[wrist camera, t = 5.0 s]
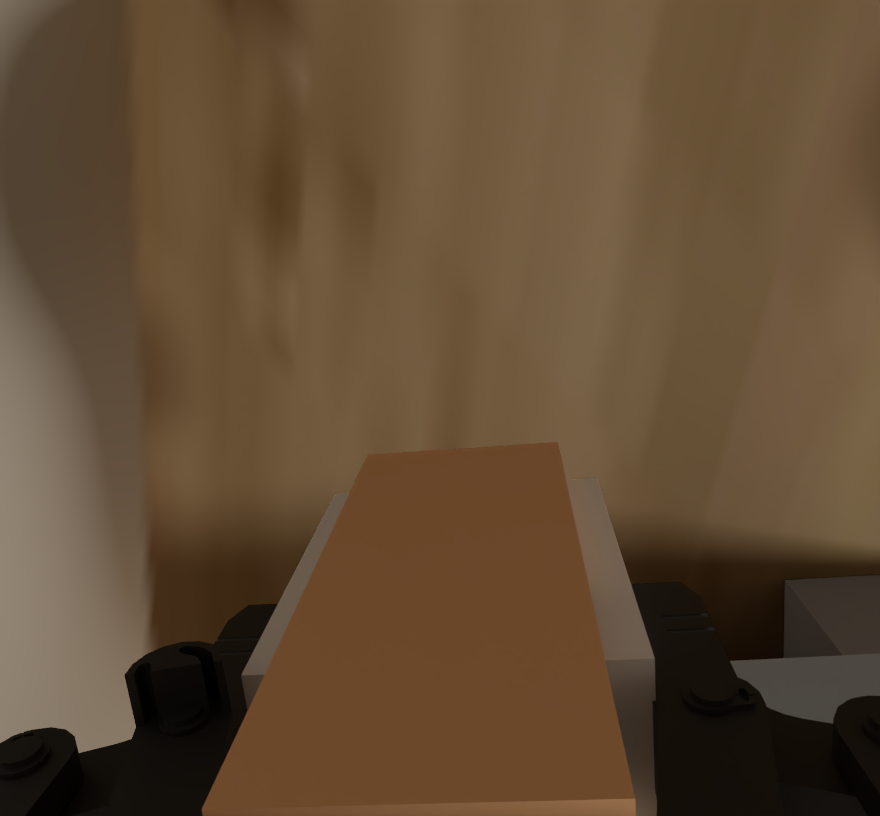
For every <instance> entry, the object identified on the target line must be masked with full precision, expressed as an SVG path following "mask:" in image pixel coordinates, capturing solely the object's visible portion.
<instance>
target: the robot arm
mask: <svg viewBox="0 0 880 816" xmlns="http://www.w3.org/2000/svg"><path fill="white" fill-rule="evenodd" d="M566 483H567V487H568V492H569V496H570V501H571V506H572V510H573V515H574V519H575V524H576V529H577V533H578V538H579V542H580V547H581V552H582V556H583V561H584V565H585V570H586V574H587V579H588V584H589V588H590V593H591V597H592V602H593V607H594V611H595V616H596V620H597V625H598V630H599V634H600V639H601V643H602V648H603V653H604V657H605V662H606V666H607V671H608V675H609V680H610V685H611V689H612V694H613V698H614V703H615V708H616V712H617V717H618V721H619V726H620V731H621V735H622V740H623V744H624V749H625V753H626V758H627V763H628V767H629V772H630V776H631V781H632V786H633V790H634V795H635V804H636V816H880V696H873V695H867V696H862V697H857V698H851V699H849V700H847V701H846V702H844V703H843V704H841V705H840V706H838V707H837V710H836V713H835V715H834V718H833V724H832V723H826V722H821V721H815V720H809V719H803V718H798V717H794V716H790V715H786V714H783V713H780V712H778V711H775V710H773V709H770V708H768V707H766V703H765V701H764V699H763V697H762V695H761V693H760V691H758V690H757V689H756V688H755V687H754V686H752V685H751V684H750V683H749V682H747V681H746V680H743V679H741V678H739V677H737V675H736V673H735V671H734V669H733V666H732V664H731V662H730V660H729V658H728V656H727V654H726V652H725V650H724V647H723V645H722V643H721V641H720V639H719V637H718V635H717V633H716V631H714V626H713V624H712V622H711V620H710V618H709V617H708V615H707V612H706V609H705V607H704V605H703V603H702V601H701V599H700V597H699V596H698V595H697V594H696V593H694V592H693V591H692V590H690V589H689V588H688V587H686V586H685V585H683V584H682V583H681V582H665V583H645V584H631V583H630V580H629V576H628V573H627V570H626V567H625V564H624V561H623V558H622V555H621V552H620V548H619V545H618V542H617V539H616V536H615V533H614V530H613V527H612V523H611V520H610V517H609V514H608V511H607V508H606V505H605V502H604V498H603V495H602V492H601V489H600V486H599V483H598V480H597V477H594V478H577V479H566ZM348 495H349V493H335V494H334V496H333V498H332V500H331V502H330V504H329V506H328V508H327V510H326V512H325V514H324V516H323V517H322V519H321V521H320V523H319V525H318V527H317V529H316V531H315V533H314V535H313V537H312V539H311V541H310V543H309V545H308V547H307V549H306V550H305V552H304V554H303V556H302V558H301V560H300V562H299V564H298V566H297V568H296V570H295V572H294V574H293V576H292V578H291V580H290V581H289V583H288V585H287V587H286V589H285V591H284V593H283V595H282V597H281V599H280V601H279V603H278V604H263V605H248V606H247V607H246V608H244V609H243V610H242V611H240V612H239V613H238V614H236V615H235V616H234V617H233V618H231V619H230V620H229V621H228V622H227V624H226V625H225V627H224V629H223V630H222V632H221V634H220V635H219V637H218V641H216V642H215V643H214V645H213V644H209V643H205V642H200V641H196V642H181V643H177V644H173V645H169V646H165V647H162V648H160V649H157V650H155V651H153V652H151V653H148V654H146V655H145V656H143V657H142V658H141V659H139V660H138V661H137V662H135V663H134V664H133V665H132V666H131V667H130V669H129V670H128V671H127V673H126V674H125V679H126V683H127V688H128V692H129V697H130V702H131V706H132V710H133V715H134V719H135V724H136V729H135V732H134V734H133V737H132V739H131V740H127V741H125V742H121V743H118V744H114V745H110V746H106V747H103V748H99V749H94V750H90V751H86V752H82V753H78V749H77V745H76V741H75V737H74V736H73V735H72V734H71V733H69V732H68V731H67V730H65V729H58V728H43V729H36V730H30V731H26V732H24V733H20V734H17V735H14V736H12V737H10V738H9V739H7V740H6V741H4V742H2V743H0V816H203V815H202V807H203V805H204V803H205V801H206V799H207V797H208V795H209V792H210V790H211V788H212V786H213V784H214V782H215V780H216V778H217V775H218V773H219V771H220V769H221V767H222V765H223V763H224V760H225V758H226V756H227V754H228V752H229V750H230V748H231V745H232V743H233V741H234V739H235V737H236V735H237V733H238V730H239V728H240V726H241V724H242V722H243V720H244V718H245V716H246V713H247V711H248V709H249V707H250V705H251V703H252V701H253V698H254V696H255V694H256V692H257V690H258V688H259V686H260V683H261V681H262V679H263V677H264V675H265V673H266V671H267V668H268V666H269V664H270V662H271V660H272V658H273V656H274V654H275V651H276V649H277V647H278V645H279V643H280V641H281V639H282V636H283V634H284V632H285V630H286V628H287V626H288V624H289V621H290V619H291V617H292V615H293V613H294V611H295V609H296V607H297V604H298V602H299V600H300V598H301V596H302V594H303V592H304V589H305V587H306V585H307V583H308V581H309V579H310V577H311V574H312V572H313V570H314V568H315V566H316V564H317V562H318V559H319V557H320V555H321V553H322V551H323V549H324V547H325V545H326V542H327V540H328V538H329V536H330V534H331V532H332V530H333V527H334V525H335V523H336V521H337V519H338V517H339V515H340V512H341V510H342V508H343V506H344V504H345V502H346V500H347V497H348Z"/></svg>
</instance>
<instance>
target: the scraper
mask: <svg viewBox="0 0 880 816" xmlns="http://www.w3.org/2000/svg"><path fill="white" fill-rule="evenodd" d="M202 815H203V816H636V804H635V795H634V790H633V786H632V781H631V776H630V772H629V767H628V763H627V758H626V753H625V749H624V744H623V740H622V735H621V731H620V726H619V721H618V717H617V712H616V708H615V703H614V698H613V694H612V689H611V685H610V680H609V675H608V671H607V666H606V662H605V657H604V653H603V648H602V643H601V639H600V634H599V630H598V625H597V620H596V616H595V611H594V607H593V602H592V597H591V593H590V588H589V584H588V579H587V574H586V570H585V565H584V561H583V556H582V552H581V547H580V542H579V538H578V533H577V529H576V524H575V519H574V515H573V510H572V506H571V501H570V496H569V492H568V487H567V483H566V478H565V474H564V469H563V464H562V460H561V455H560V451H559V446H558V442H554V443H539V444H524V445H509V446H493V447H478V448H463V449H448V450H433V451H418V452H403V453H388V454H373V455H367V457H366V459H365V461H364V463H363V465H362V468H361V470H360V472H359V474H358V476H357V478H356V480H355V483H354V485H353V487H352V489H351V491H350V493H349V495H348V497H347V500H346V502H345V504H344V506H343V508H342V510H341V512H340V515H339V517H338V519H337V521H336V523H335V525H334V527H333V530H332V532H331V534H330V536H329V538H328V540H327V542H326V545H325V547H324V549H323V551H322V553H321V555H320V557H319V559H318V562H317V564H316V566H315V568H314V570H313V572H312V574H311V577H310V579H309V581H308V583H307V585H306V587H305V589H304V592H303V594H302V596H301V598H300V600H299V602H298V604H297V607H296V609H295V611H294V613H293V615H292V617H291V619H290V621H289V624H288V626H287V628H286V630H285V632H284V634H283V636H282V639H281V641H280V643H279V645H278V647H277V649H276V651H275V654H274V656H273V658H272V660H271V662H270V664H269V666H268V668H267V671H266V673H265V675H264V677H263V679H262V681H261V683H260V686H259V688H258V690H257V692H256V694H255V696H254V698H253V701H252V703H251V705H250V707H249V709H248V711H247V713H246V716H245V718H244V720H243V722H242V724H241V726H240V728H239V730H238V733H237V735H236V737H235V739H234V741H233V743H232V745H231V748H230V750H229V752H228V754H227V756H226V758H225V760H224V763H223V765H222V767H221V769H220V771H219V773H218V775H217V778H216V780H215V782H214V784H213V786H212V788H211V790H210V792H209V795H208V797H207V799H206V801H205V803H204V805H203V807H202Z"/></svg>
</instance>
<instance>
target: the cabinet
mask: <svg viewBox="0 0 880 816" xmlns="http://www.w3.org/2000/svg"><path fill="white" fill-rule="evenodd" d="M730 662H731V664H732V666H733V669H734V671H735V673H736V675H737V677H739V678H741V679H743V680H746V681H747V682H749V683H750V684H751V685H752V686H754V687H755V688H756V689H757V690H758V691H760V693H761V695H762V697H763V699H764V701H765V703H766V707H768V708H770V709H773V710H775V711H778V712H780V713H783V714H786V715H790V716H794V717H798V718H803V719H809V720H815V721H821V722H826V723H832V724H833V718H834V715H835V713H836V710H837V707H838V706H840V705H841V704H843V703H844V702H846V701H847V700H849V699H851V698H857V697H862V696H867V695H873V696H880V575H865V576H848V577H830V578H812V579H794V580H785V602H784V658H778V659H758V660H738V661H730Z"/></svg>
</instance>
